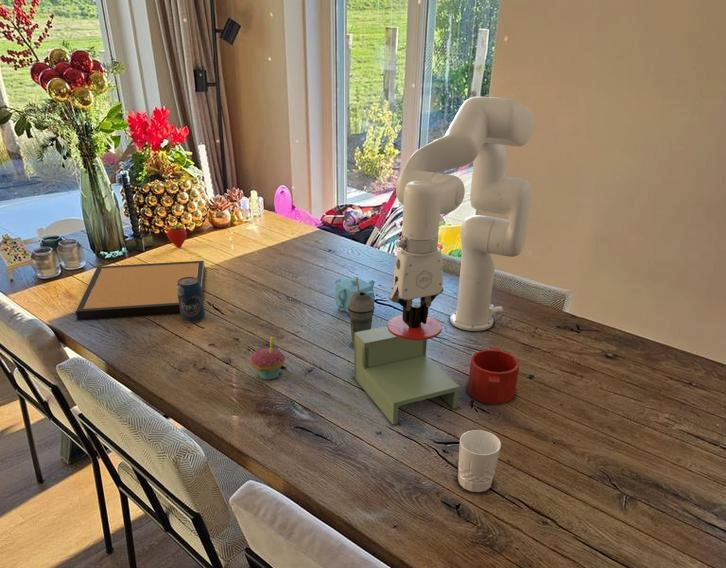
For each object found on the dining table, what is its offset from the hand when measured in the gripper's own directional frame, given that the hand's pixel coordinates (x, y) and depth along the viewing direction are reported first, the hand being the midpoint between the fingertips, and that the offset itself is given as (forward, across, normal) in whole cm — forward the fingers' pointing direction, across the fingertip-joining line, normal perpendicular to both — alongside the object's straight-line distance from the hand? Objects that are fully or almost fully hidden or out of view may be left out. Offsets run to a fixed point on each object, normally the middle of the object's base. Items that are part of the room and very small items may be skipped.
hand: (414, 322), depth 141 cm
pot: (+20, +20, -5) cm, 29 cm away
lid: (+1, 0, 0) cm, 1 cm away
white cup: (+21, -2, -32) cm, 38 cm away
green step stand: (+21, 0, +3) cm, 21 cm away
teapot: (+20, +8, +50) cm, 55 cm away
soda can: (+21, -39, +64) cm, 78 cm away
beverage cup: (+21, 0, +29) cm, 36 cm away
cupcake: (+21, -28, +24) cm, 43 cm away
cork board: (+21, -49, +89) cm, 104 cm away
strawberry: (+20, -32, +126) cm, 132 cm away
